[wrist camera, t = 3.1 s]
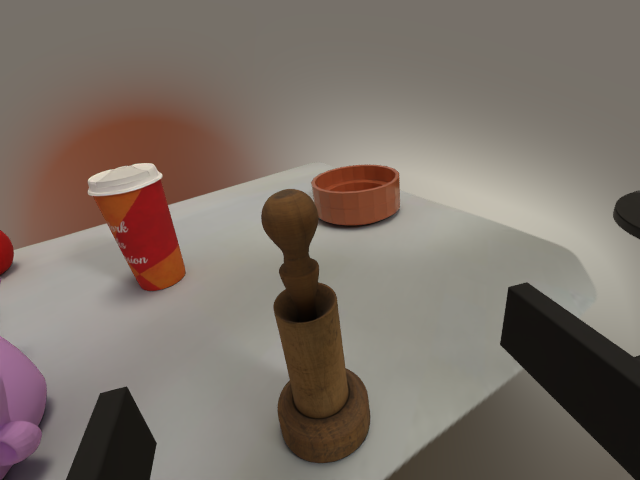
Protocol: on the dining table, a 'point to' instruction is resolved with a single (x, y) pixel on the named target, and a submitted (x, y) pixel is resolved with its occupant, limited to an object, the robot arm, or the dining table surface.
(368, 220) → the bowl
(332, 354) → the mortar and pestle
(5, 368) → the teapot
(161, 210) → the coffee cup
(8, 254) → the fruit
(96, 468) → the robot arm
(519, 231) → the dining table surface
